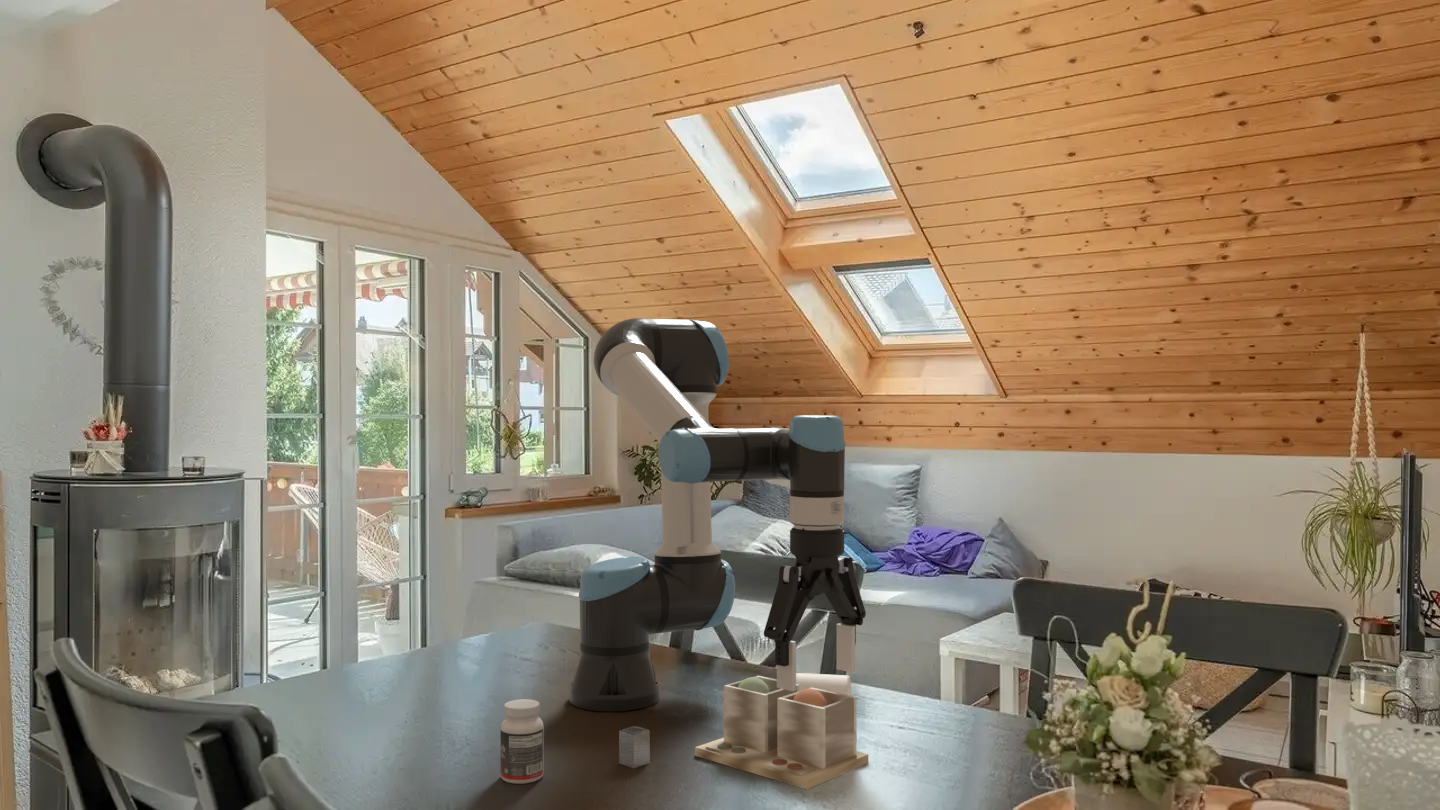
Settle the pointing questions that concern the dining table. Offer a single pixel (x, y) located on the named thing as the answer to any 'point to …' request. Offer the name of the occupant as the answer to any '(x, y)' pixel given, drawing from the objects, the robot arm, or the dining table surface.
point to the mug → (825, 682)
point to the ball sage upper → (754, 685)
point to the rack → (786, 735)
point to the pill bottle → (522, 742)
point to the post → (634, 746)
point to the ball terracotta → (810, 697)
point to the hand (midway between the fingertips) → (817, 679)
